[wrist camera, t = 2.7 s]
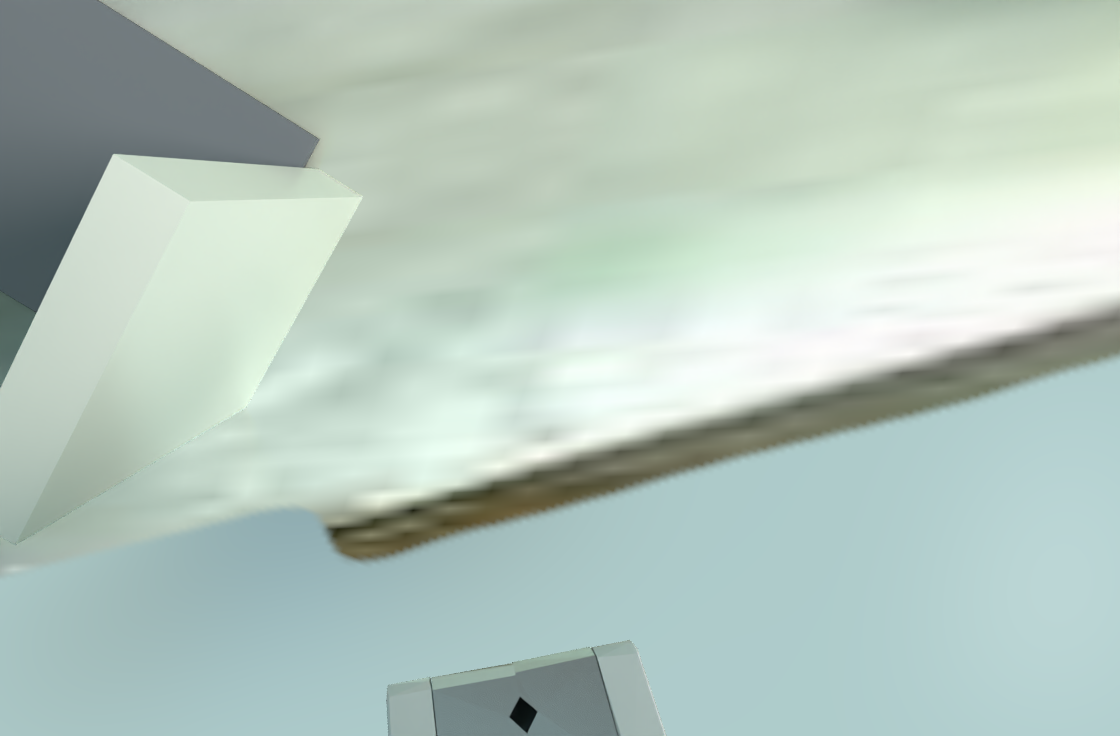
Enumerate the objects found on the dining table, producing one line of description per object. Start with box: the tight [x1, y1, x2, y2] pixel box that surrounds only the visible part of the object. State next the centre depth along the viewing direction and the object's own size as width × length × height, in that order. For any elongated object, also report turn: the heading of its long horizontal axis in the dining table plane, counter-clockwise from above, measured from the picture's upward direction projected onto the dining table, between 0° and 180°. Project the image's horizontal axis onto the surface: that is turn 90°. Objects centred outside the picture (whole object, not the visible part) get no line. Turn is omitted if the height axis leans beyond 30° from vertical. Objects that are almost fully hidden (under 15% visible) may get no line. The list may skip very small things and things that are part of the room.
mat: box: [0, 0, 319, 313], centre depth 34 cm, size 14×12×1 cm
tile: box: [0, 154, 363, 545], centre depth 27 cm, size 2×10×14 cm, turn 148°
